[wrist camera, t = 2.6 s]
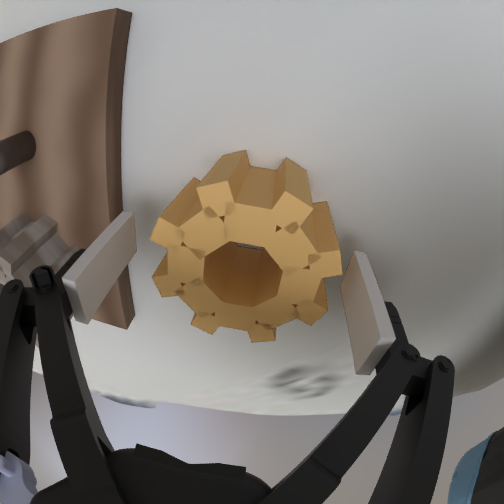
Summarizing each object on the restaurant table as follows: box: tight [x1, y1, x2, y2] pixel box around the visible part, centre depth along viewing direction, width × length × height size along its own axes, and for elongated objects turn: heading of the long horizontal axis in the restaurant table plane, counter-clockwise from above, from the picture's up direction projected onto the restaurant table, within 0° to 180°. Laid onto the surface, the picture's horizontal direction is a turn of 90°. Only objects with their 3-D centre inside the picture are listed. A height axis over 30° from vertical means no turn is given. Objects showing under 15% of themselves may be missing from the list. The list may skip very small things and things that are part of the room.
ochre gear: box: [150, 150, 342, 342], centre depth 18 cm, size 10×10×6 cm
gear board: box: [0, 8, 135, 347], centre depth 16 cm, size 16×26×9 cm, turn 172°
